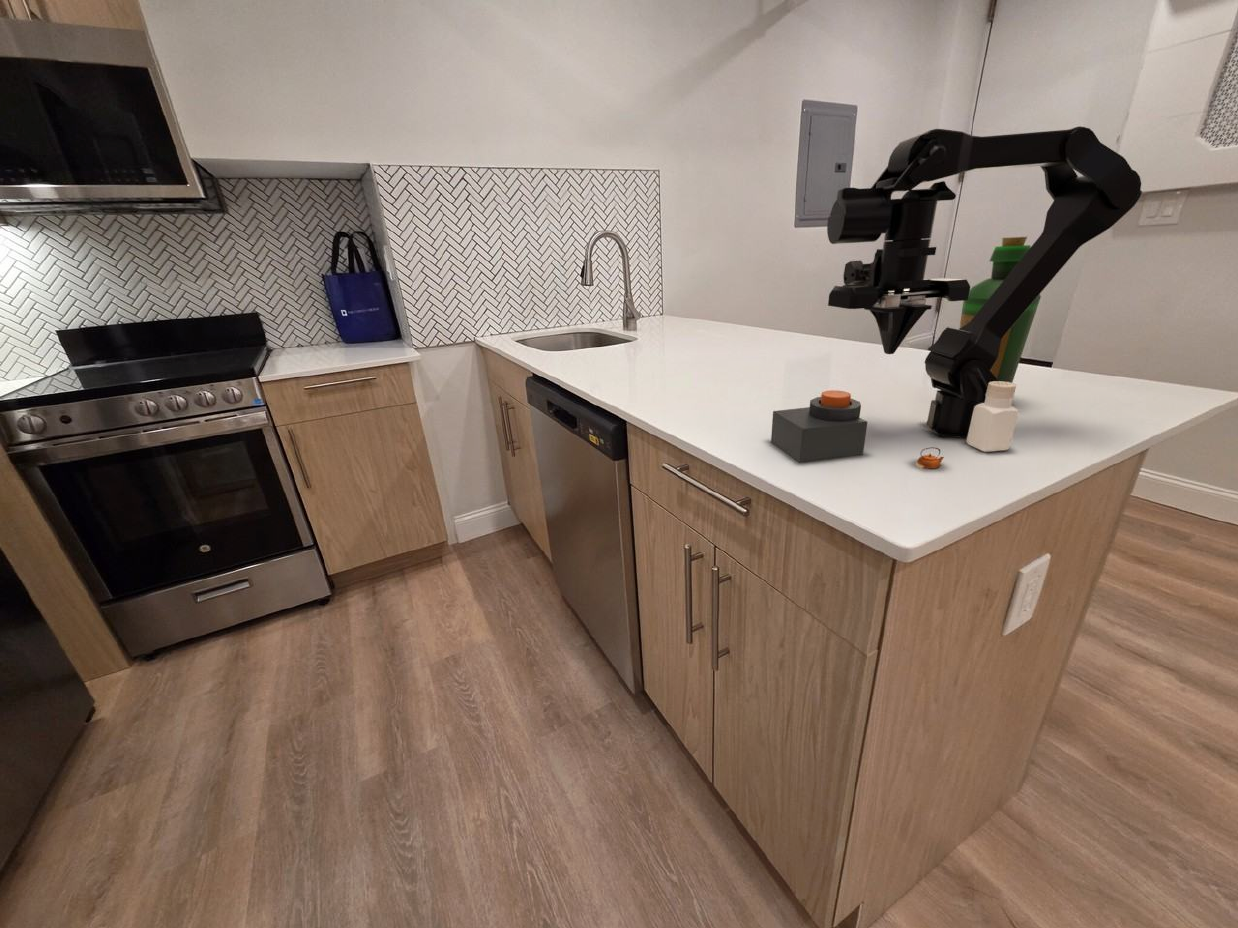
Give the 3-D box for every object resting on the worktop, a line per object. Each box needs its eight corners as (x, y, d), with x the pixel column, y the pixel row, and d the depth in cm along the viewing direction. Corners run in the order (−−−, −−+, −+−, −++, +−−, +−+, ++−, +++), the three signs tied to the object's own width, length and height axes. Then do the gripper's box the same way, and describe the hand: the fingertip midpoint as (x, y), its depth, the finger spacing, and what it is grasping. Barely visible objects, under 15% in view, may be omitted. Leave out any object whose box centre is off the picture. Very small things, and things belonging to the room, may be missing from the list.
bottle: (932, 395, 99) (963, 239, 88) (992, 394, 97) (1030, 236, 86) (958, 411, 89) (996, 238, 78) (1025, 410, 88) (1073, 234, 77)
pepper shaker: (1010, 451, 72) (1028, 386, 68) (983, 453, 72) (999, 388, 68) (989, 441, 76) (1004, 379, 72) (963, 443, 75) (978, 381, 72)
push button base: (833, 434, 82) (838, 392, 79) (868, 454, 73) (875, 408, 71) (770, 442, 80) (773, 399, 77) (799, 463, 72) (803, 416, 69)
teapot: (918, 460, 71) (921, 442, 70) (943, 464, 69) (946, 446, 68) (913, 467, 69) (917, 449, 68) (938, 471, 67) (942, 453, 66)
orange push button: (839, 400, 77) (840, 389, 76) (855, 407, 73) (856, 395, 72) (815, 403, 76) (816, 391, 75) (830, 410, 72) (831, 398, 72)
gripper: (924, 238, 78) (906, 340, 84) (813, 245, 75) (803, 349, 81) (984, 236, 68) (959, 352, 74) (859, 243, 65) (844, 363, 71)
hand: (888, 353), depth 75 cm, fingers closed
